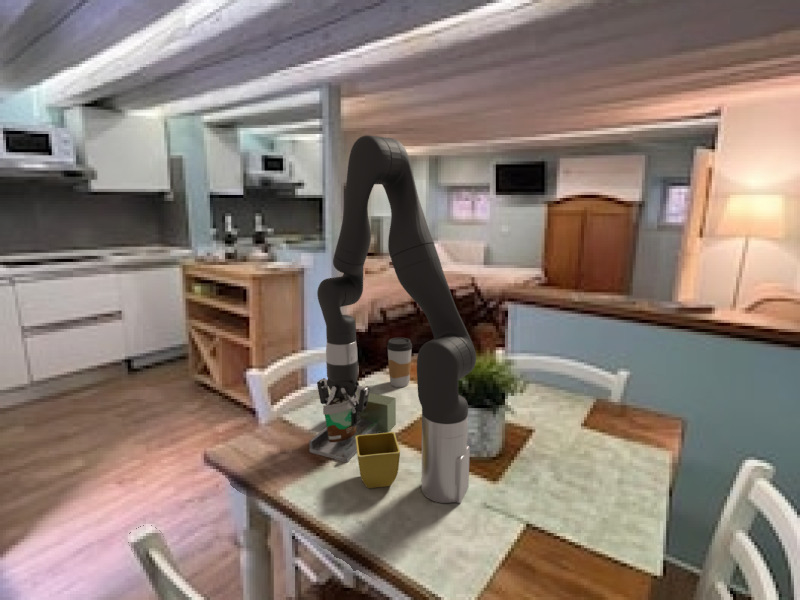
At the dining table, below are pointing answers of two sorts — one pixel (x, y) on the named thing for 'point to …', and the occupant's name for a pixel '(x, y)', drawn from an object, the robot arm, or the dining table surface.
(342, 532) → the dining table surface
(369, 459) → the flower pot
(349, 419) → the food container
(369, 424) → the grey dustpan tray
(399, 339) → the coffee cup
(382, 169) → the robot arm
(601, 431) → the dining table surface
